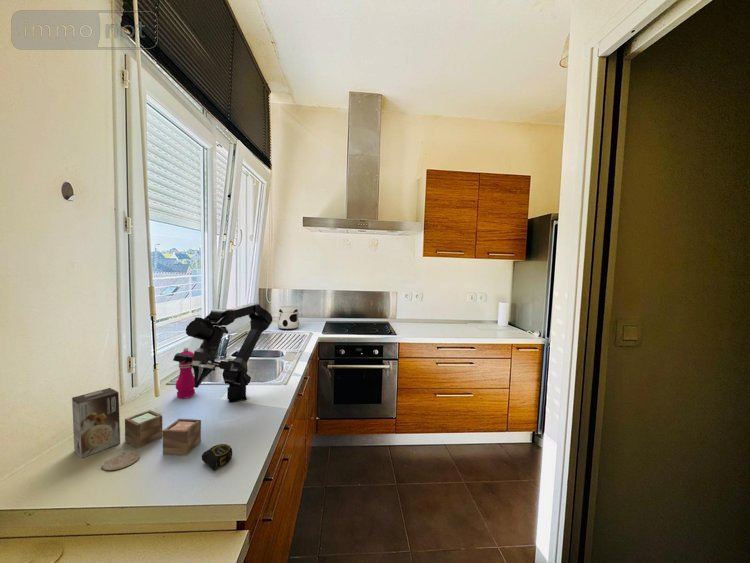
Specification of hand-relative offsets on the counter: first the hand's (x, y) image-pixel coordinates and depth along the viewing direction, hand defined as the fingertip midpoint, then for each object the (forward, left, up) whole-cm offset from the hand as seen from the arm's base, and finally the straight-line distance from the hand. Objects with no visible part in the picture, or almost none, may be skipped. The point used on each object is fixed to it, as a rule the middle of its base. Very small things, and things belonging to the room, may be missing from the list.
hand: (196, 387), depth 107 cm
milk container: (-59, -140, -12) cm, 152 cm away
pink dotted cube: (+3, +15, -10) cm, 19 cm away
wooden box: (+3, +15, -12) cm, 20 cm away
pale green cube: (+14, +5, -10) cm, 18 cm away
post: (+14, +5, -12) cm, 19 cm away
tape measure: (-7, +27, -13) cm, 31 cm away
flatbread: (+17, +16, -13) cm, 27 cm away
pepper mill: (+5, -26, -12) cm, 29 cm away
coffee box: (+25, +5, -12) cm, 28 cm away
